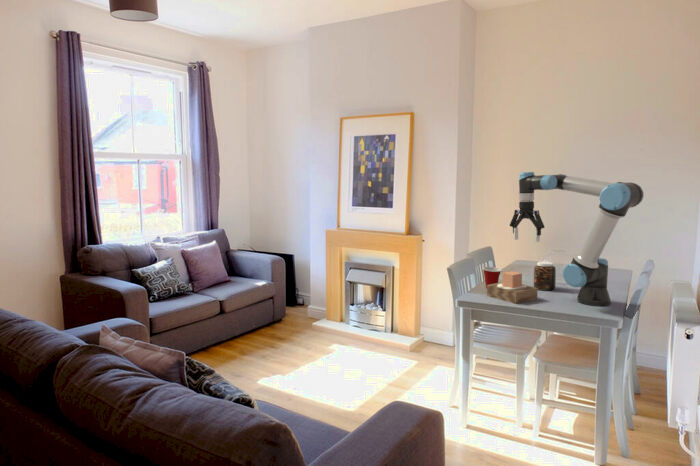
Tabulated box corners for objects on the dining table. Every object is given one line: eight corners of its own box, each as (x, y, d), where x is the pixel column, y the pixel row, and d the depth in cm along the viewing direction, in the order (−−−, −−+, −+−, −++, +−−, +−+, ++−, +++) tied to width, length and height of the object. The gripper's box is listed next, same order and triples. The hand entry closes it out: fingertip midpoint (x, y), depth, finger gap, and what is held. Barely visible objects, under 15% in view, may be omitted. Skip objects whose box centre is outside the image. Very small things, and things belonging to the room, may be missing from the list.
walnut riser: (537, 299, 258) (537, 287, 257) (515, 303, 250) (516, 291, 249) (507, 291, 275) (507, 280, 274) (487, 295, 267) (487, 284, 266)
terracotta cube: (521, 286, 261) (521, 273, 260) (512, 288, 257) (512, 275, 256) (511, 283, 267) (511, 271, 266) (502, 285, 263) (502, 272, 262)
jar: (557, 291, 273) (558, 264, 271) (535, 290, 275) (535, 264, 274) (553, 286, 285) (553, 261, 283) (532, 285, 287) (532, 260, 285)
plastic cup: (499, 291, 275) (499, 270, 274) (480, 289, 281) (480, 269, 279) (503, 287, 285) (503, 267, 284) (484, 285, 290) (484, 265, 289)
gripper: (551, 201, 253) (551, 241, 255) (511, 200, 273) (512, 238, 276) (542, 201, 249) (542, 243, 251) (503, 201, 269) (503, 239, 272)
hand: (526, 240), depth 263 cm, fingers open, 13 cm apart
